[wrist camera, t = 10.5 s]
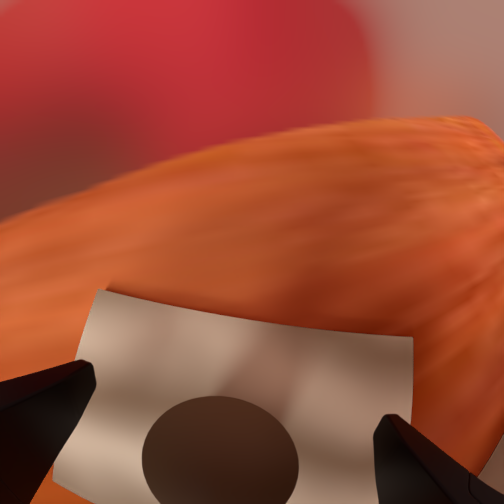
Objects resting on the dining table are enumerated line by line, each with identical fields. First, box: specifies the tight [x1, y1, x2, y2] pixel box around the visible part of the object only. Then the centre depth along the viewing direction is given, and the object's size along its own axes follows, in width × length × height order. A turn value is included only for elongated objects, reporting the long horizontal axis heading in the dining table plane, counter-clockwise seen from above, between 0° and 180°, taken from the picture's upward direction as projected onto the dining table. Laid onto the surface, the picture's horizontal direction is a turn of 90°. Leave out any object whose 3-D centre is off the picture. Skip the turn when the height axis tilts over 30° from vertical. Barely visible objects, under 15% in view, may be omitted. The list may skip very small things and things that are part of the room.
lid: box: [53, 289, 413, 504], centre depth 9 cm, size 13×19×9 cm
